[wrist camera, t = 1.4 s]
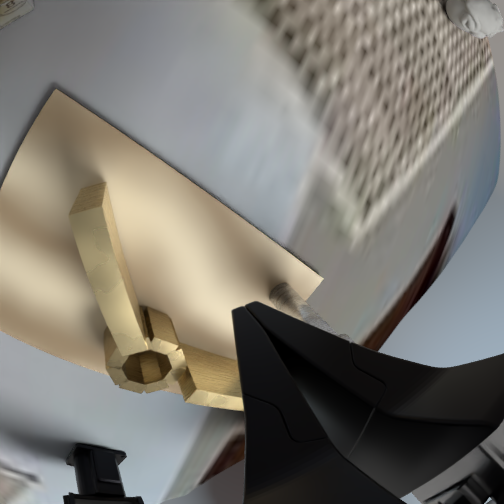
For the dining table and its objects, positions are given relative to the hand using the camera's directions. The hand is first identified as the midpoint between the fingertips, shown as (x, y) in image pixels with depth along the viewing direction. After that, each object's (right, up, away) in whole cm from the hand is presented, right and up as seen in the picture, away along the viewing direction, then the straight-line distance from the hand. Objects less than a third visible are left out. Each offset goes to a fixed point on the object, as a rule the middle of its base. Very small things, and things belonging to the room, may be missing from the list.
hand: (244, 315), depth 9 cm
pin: (+3, -1, +14) cm, 15 cm away
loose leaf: (-8, +2, +7) cm, 11 cm away
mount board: (-7, -1, +10) cm, 12 cm away
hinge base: (-5, -6, +13) cm, 15 cm away
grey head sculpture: (+23, +29, +9) cm, 38 cm away
